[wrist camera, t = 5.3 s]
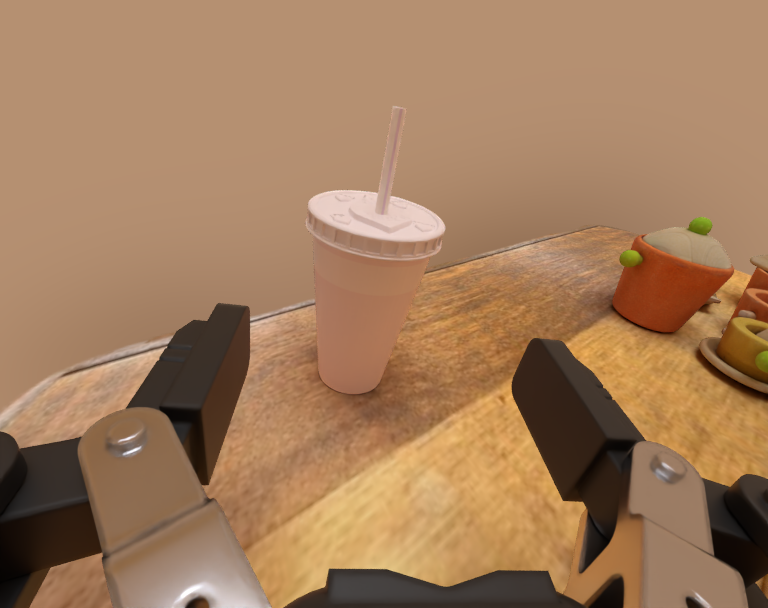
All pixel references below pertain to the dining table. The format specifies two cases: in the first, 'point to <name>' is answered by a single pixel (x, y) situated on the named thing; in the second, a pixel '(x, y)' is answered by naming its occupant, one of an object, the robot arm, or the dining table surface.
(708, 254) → the toy tea set
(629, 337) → the dining table surface
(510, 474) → the dining table surface
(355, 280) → the smoothie
